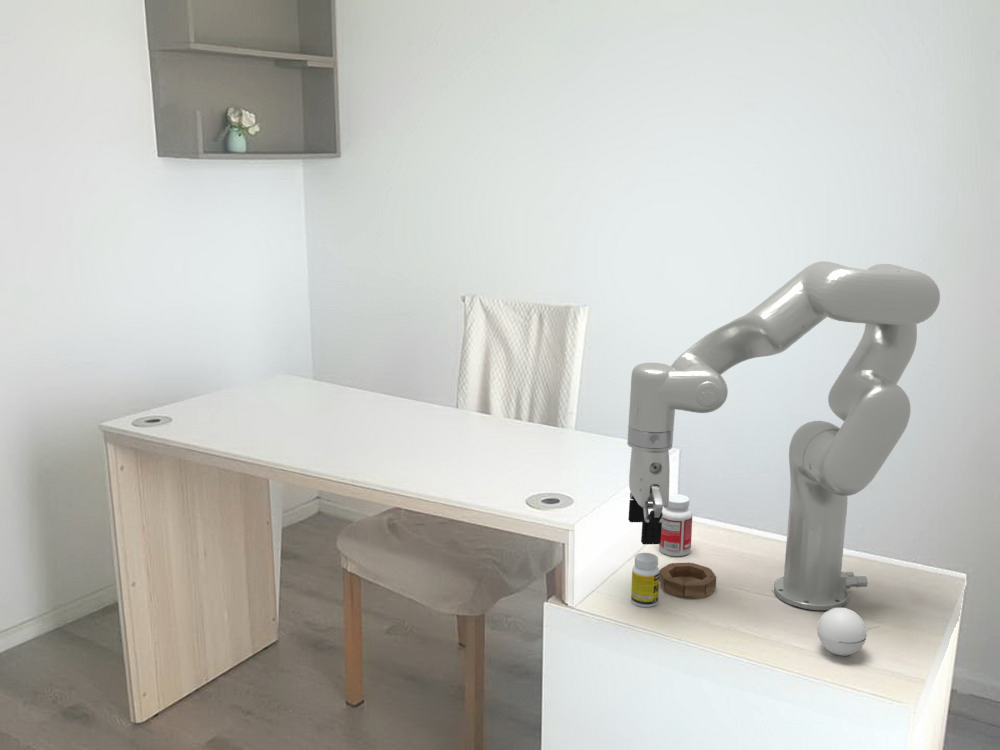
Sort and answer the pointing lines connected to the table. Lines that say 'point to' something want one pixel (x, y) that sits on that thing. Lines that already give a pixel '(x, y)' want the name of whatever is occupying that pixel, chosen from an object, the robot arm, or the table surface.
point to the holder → (687, 580)
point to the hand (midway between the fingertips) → (643, 532)
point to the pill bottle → (676, 526)
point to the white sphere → (842, 631)
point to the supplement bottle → (645, 580)
